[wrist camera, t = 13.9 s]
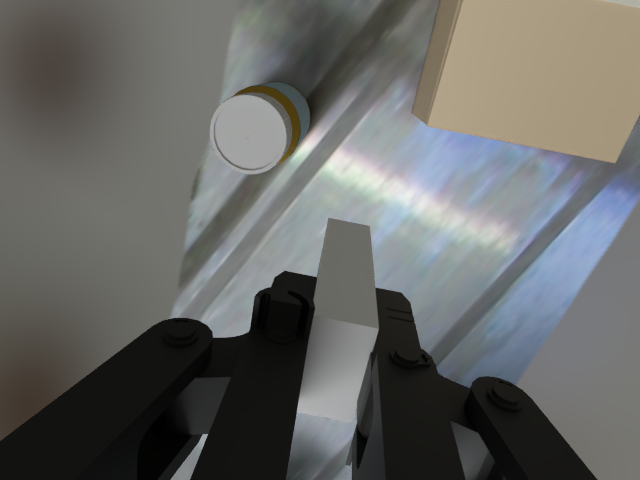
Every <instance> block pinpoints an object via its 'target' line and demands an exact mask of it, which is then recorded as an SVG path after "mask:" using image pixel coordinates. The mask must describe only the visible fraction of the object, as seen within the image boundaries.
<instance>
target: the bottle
mask: <svg viewBox="0 0 640 480" xmlns="http://www.w3.org/2000/svg"><path fill="white" fill-rule="evenodd" d="M309 124H310V109H309V106H308V104H307V101H306V99H305V98H304V96H303V95H302V94H301V93H300V92H299V91H298V90H297V89H296V88H294V87H292V86H291V85H288V84H285V83H280V82H274V83H266V84H261V85H255V86H250V87H247V88H245V89H243V90H241V91H239V92H237V93H236V94H235V95H234V96H233V97H231V98H229V99H227V101H224V102H223V103H222V104H221V105H220V106H219V107H218V108H217V110H216V111H215V114H214V115H213V118H212V121H211V125H210V139H211V143H212V146H213V149H214V151H215V153H216V154H217V156H218V157H219V158H220V160H221V161H222V162H223V163H224V164H225V165H227V166H228V167H229V168H231V169H233V170H235V171H237V172H240V173H244V174H258V173H262V172H266V171H267V170H270V168H273V167H274V166H275V165H277V164H279V163H281V162H283V161H284V160H285V159H287V158H288V157H289V156H290V155H291V154H292V153H293V151H294V150H295V149H296V147H297V146H298V145H299V143H300V142H301V141H302V139H303V138H304V136H305V134H306V133H307V131H308V128H309Z"/></svg>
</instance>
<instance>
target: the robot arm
mask: <svg viewBox="0 0 640 480" xmlns="http://www.w3.org/2000/svg"><path fill="white" fill-rule="evenodd" d="M356 410H357V425H356V429H355V432H354V436H353V440H352V443H351V447H350V450H349V454H348V457H347V461H346V465H349V466H350V465H351V462H352V480H597V479H596V478H595V476H594V475H593V474H592V473H591V471H590V470H589V469H588V468H587V466H586V465H585V464H584V463H583V461H582V460H581V459H580V458H579V457H578V456H577V454H576V453H575V452H574V450H573V449H572V448H571V447H570V445H569V444H568V443H567V442H566V441H565V439H564V438H563V437H562V436H561V434H560V433H559V432H558V431H557V429H556V428H555V427H554V426H553V425H552V423H551V422H550V421H549V420H548V418H547V417H546V416H545V415H544V413H543V412H542V411H541V410H540V409H539V407H538V406H537V405H536V404H535V402H534V401H533V400H532V399H531V398H530V397H529V396H528V395H527V394H526V393H525V392H524V391H523V390H521V389H520V388H518V387H517V386H515V385H513V384H512V383H510V382H508V381H505V380H503V379H500V378H495V377H489V376H487V377H479V378H477V379H476V380H475V381H473V383H472V385H471V388H467V387H465V386H463V385H460V384H458V383H455V382H453V381H451V380H449V379H447V378H445V377H443V376H441V375H440V374H438V372H437V369H436V365H435V363H434V361H433V359H432V357H431V356H430V355H429V354H427V353H426V352H425V351H424V350H423V349H421V347H420V343H419V339H418V335H417V330H416V326H415V323H414V317H413V315H412V309H411V304H410V302H409V301H408V300H407V299H406V298H405V296H404V295H403V294H402V293H400V292H395V291H390V290H385V289H380V288H375V279H374V268H373V257H372V246H371V234H370V226H367V225H362V224H357V223H352V222H346V221H341V220H336V219H331V218H328V223H327V228H326V233H325V238H324V243H323V248H322V253H321V258H320V263H319V268H318V273H317V277H313V276H308V275H303V274H298V273H293V272H288V271H284V272H282V273H281V274H279V275H278V276H276V277H275V278H274V281H273V284H272V286H271V287H270V288H266V289H264V290H261V291H259V292H258V293H257V294H256V296H255V299H254V306H253V313H252V320H251V327H250V330H249V332H248V333H246V334H244V335H240V336H236V337H228V338H213V335H212V331H211V330H210V328H209V327H208V326H207V325H205V324H204V323H202V322H200V321H198V320H193V319H189V318H173V319H168V320H164V321H161V322H159V323H158V324H156V325H154V326H152V327H151V328H150V329H148V330H147V331H146V332H144V333H143V334H142V335H140V336H139V337H138V338H136V339H135V340H134V341H133V342H131V343H130V344H128V345H127V346H126V347H124V348H123V349H122V350H120V351H119V352H118V353H116V354H115V355H114V356H112V357H111V358H110V359H108V360H107V361H106V362H104V363H103V364H102V365H100V366H99V367H98V368H97V369H95V370H94V371H93V372H91V373H90V374H89V375H87V376H86V377H85V378H83V379H82V380H81V381H79V382H78V383H77V384H75V385H74V386H73V387H71V388H70V389H69V390H67V391H66V392H65V393H63V394H62V395H61V396H59V397H58V398H57V399H55V400H54V401H53V402H52V403H50V404H49V405H47V406H46V407H45V408H43V409H42V410H41V411H40V412H38V413H37V414H36V415H34V416H33V417H32V418H30V419H29V420H28V421H26V422H25V423H24V424H22V425H21V426H20V427H18V428H17V429H16V430H14V431H13V432H12V433H11V434H9V435H8V436H6V437H5V438H4V439H3V440H1V441H0V480H170V479H171V478H172V477H173V475H174V474H175V473H176V471H177V470H178V469H179V467H180V466H181V465H182V463H183V462H184V461H185V459H186V458H187V457H188V455H189V454H190V453H191V452H192V450H193V449H194V448H195V446H196V445H197V444H198V442H199V440H200V438H201V436H202V434H208V436H207V439H206V441H205V444H204V446H203V449H202V451H201V454H200V456H199V459H198V461H197V464H196V466H195V469H194V471H193V474H192V476H191V479H190V480H286V474H287V468H288V462H289V456H290V450H291V444H292V438H293V432H294V426H295V420H296V414H297V412H299V413H304V414H309V415H314V416H319V417H324V418H329V419H334V420H339V421H344V422H349V423H353V421H354V417H355V414H356Z"/></svg>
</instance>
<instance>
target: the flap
mask: <svg viewBox="0 0 640 480" xmlns="http://www.w3.org/2000/svg"><path fill="white" fill-rule="evenodd" d="M639 115H640V0H461V3H460V6H459V10H458V13H457V17H456V20H455V24H454V27H453V31H452V34H451V38H450V41H449V45H448V48H447V52H446V55H445V59H444V62H443V66H442V69H441V73H440V77H439V80H438V84H437V87H436V91H435V94H434V98H433V101H432V105H431V108H430V112H429V115H428V119H427V122H426V125H427V126H428V127H433V128H438V129H443V130H448V131H454V132H459V133H464V134H469V135H474V136H479V137H484V138H489V139H494V140H499V141H504V142H509V143H515V144H520V145H525V146H530V147H535V148H540V149H545V150H550V151H555V152H560V153H565V154H570V155H576V156H581V157H586V158H591V159H596V160H601V161H606V162H611V163H616V161H617V159H618V157H619V155H620V153H621V151H622V149H623V147H624V145H625V143H626V141H627V139H628V137H629V135H630V133H631V131H632V129H633V127H634V125H635V123H636V121H637V119H638V117H639Z"/></svg>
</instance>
